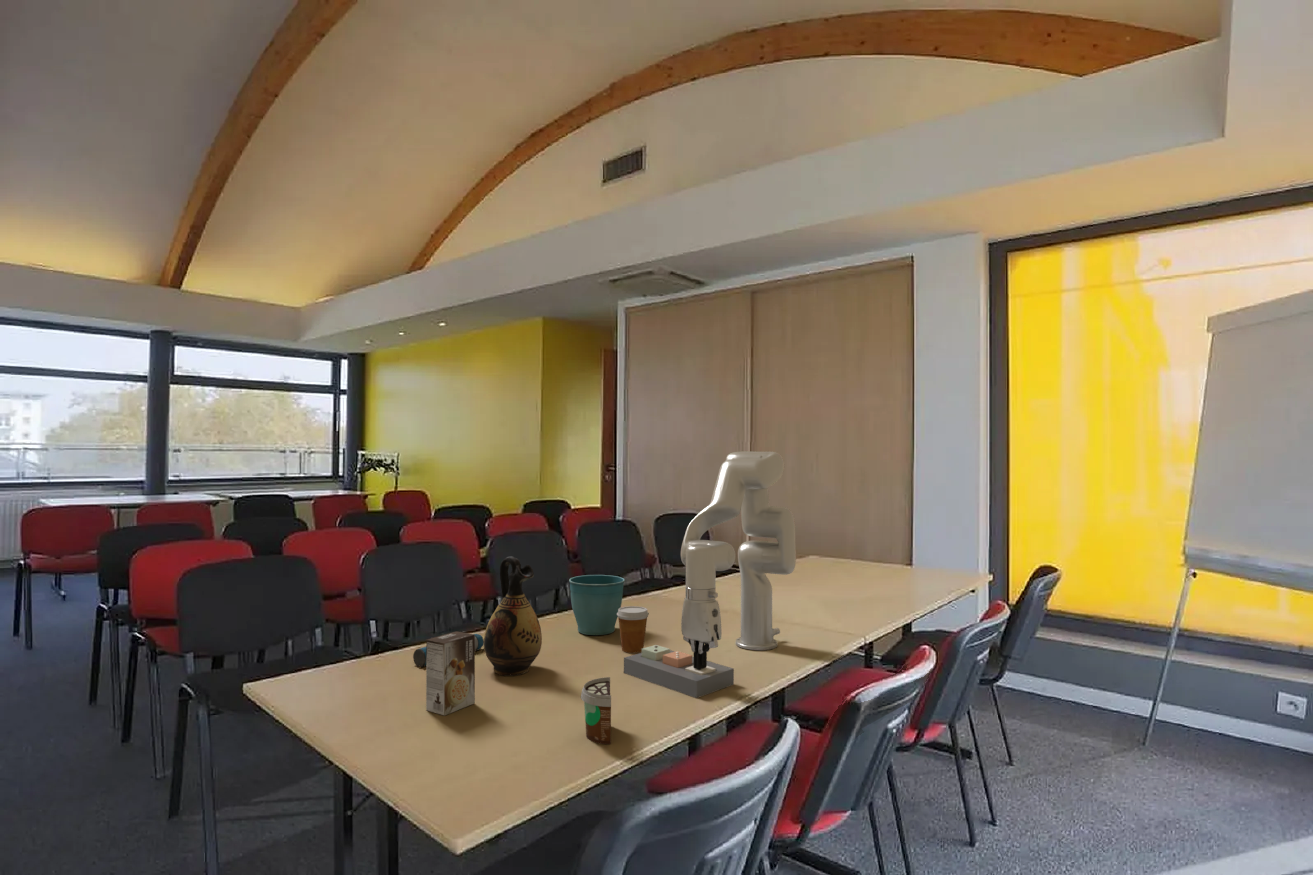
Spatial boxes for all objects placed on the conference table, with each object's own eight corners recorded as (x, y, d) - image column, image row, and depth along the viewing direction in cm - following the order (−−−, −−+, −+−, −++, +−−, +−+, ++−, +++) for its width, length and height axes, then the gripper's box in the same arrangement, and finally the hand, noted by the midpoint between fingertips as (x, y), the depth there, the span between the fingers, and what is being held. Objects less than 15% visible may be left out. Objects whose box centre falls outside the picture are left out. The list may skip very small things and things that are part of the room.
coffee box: (456, 698, 163) (457, 630, 163) (475, 703, 159) (476, 634, 160) (424, 710, 155) (425, 639, 155) (444, 716, 152) (445, 643, 152)
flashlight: (412, 665, 188) (412, 647, 189) (475, 647, 206) (475, 630, 206) (424, 669, 186) (424, 650, 186) (486, 650, 203) (486, 633, 204)
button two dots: (655, 657, 188) (656, 644, 188) (670, 661, 184) (670, 648, 184) (641, 661, 184) (641, 648, 184) (655, 666, 180) (655, 652, 180)
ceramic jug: (553, 669, 185) (554, 558, 185) (505, 683, 173) (506, 564, 174) (516, 656, 196) (517, 551, 197) (468, 669, 185) (469, 557, 186)
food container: (581, 723, 148) (581, 676, 148) (609, 723, 148) (610, 676, 149) (579, 748, 136) (580, 697, 136) (610, 747, 136) (611, 696, 136)
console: (661, 661, 192) (661, 647, 192) (733, 684, 174) (733, 668, 174) (623, 672, 182) (623, 657, 182) (696, 698, 164) (696, 681, 164)
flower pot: (593, 622, 237) (594, 572, 238) (635, 630, 227) (635, 578, 227) (557, 632, 223) (557, 580, 223) (599, 642, 212) (599, 586, 213)
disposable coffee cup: (611, 652, 201) (611, 611, 201) (624, 644, 210) (624, 604, 210) (640, 656, 197) (641, 614, 198) (653, 647, 206) (653, 607, 206)
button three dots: (677, 663, 182) (677, 650, 182) (692, 668, 178) (692, 654, 178) (662, 668, 178) (662, 654, 178) (677, 673, 174) (677, 658, 174)
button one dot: (699, 677, 176) (699, 662, 176) (715, 682, 172) (715, 667, 172) (685, 681, 172) (685, 667, 172) (701, 687, 168) (701, 672, 169)
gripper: (733, 596, 170) (732, 671, 169) (688, 588, 181) (688, 658, 180) (713, 600, 165) (712, 678, 164) (668, 591, 175) (668, 664, 175)
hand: (700, 667), depth 172 cm, fingers closed
